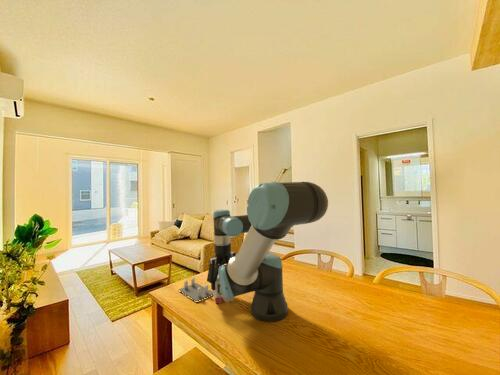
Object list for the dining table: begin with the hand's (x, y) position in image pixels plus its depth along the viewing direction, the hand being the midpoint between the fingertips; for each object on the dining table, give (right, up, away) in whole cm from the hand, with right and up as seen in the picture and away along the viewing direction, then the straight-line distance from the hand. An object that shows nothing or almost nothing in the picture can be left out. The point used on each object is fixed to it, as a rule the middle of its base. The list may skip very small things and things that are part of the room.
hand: (224, 292), depth 99 cm
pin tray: (-15, -4, +8) cm, 17 cm away
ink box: (0, -4, 0) cm, 4 cm away
